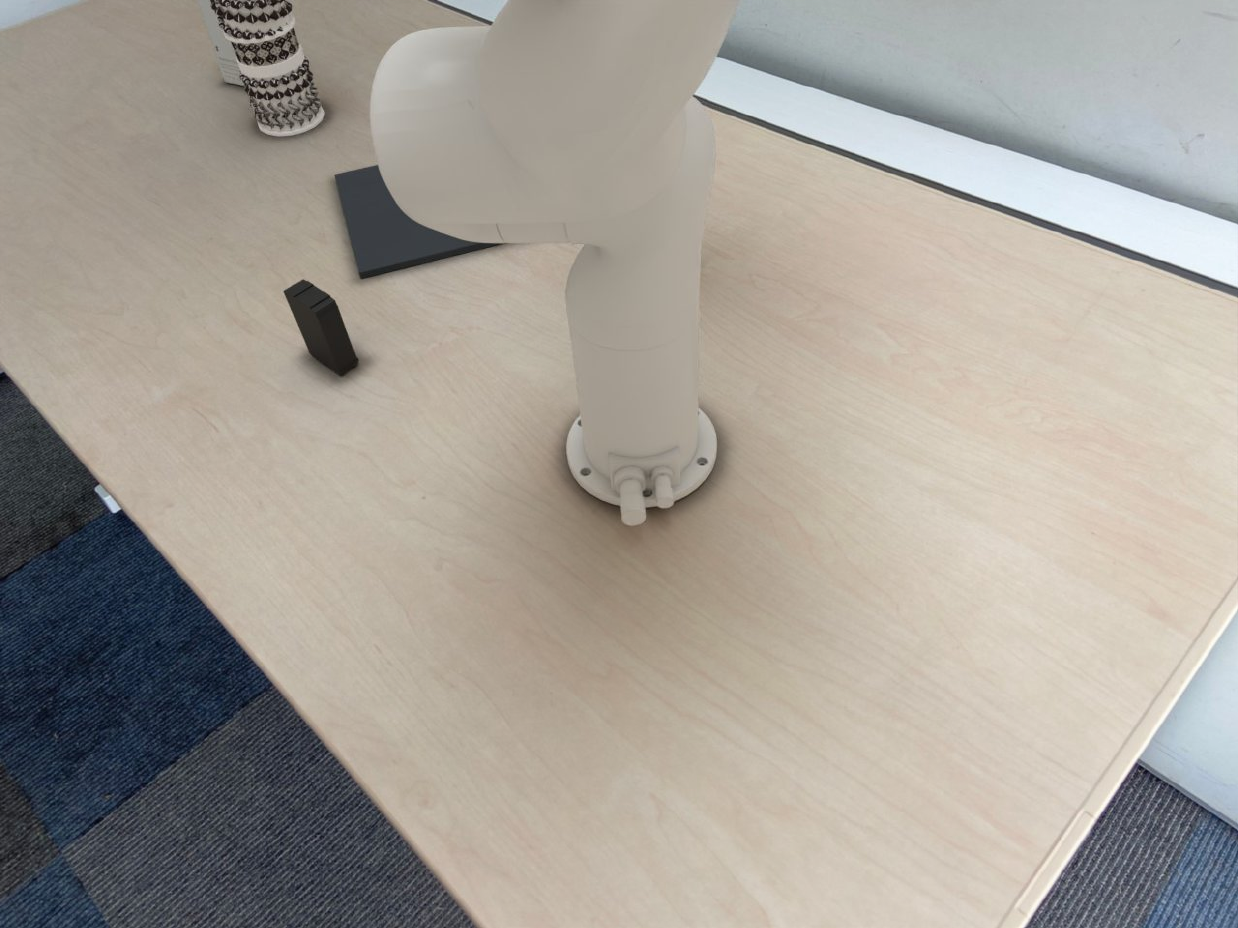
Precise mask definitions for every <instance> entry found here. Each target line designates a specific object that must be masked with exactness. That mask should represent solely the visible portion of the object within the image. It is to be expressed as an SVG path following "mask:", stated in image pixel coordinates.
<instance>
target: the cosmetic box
mask: <svg viewBox="0 0 1238 928" xmlns="http://www.w3.org/2000/svg"><path fill="white" fill-rule="evenodd" d="M196 2H197V5H198V8H199V11H200V15H201V17H202V19H203V23H204V25H205V29H206V31H207V34H208V38H209V41H210V43H211V46H212V50H213V52H214V54H215V58H216V60H217V64H218V66H219V70H220V72H221V76H222V78H223V80H224V83H227V84H231V85H237V86H241V87H245V86H244V83H243V82H242V80H241V79H240V78H239V75H240V69H239V66H238V63H237V61H236V58H235V57H236V54H235V51H234V49H233V46H232V43H231V41H230V40H228V39H226V38H225V35H224V33H223V29H222V28H220V26H219V21H218V19H217V17H218V15H216V14H215V11H214V10H212V9H211V6H210V5H211V2H210V0H196ZM216 7H219V5H218V4H216ZM224 24H225V23H224Z"/></svg>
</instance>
